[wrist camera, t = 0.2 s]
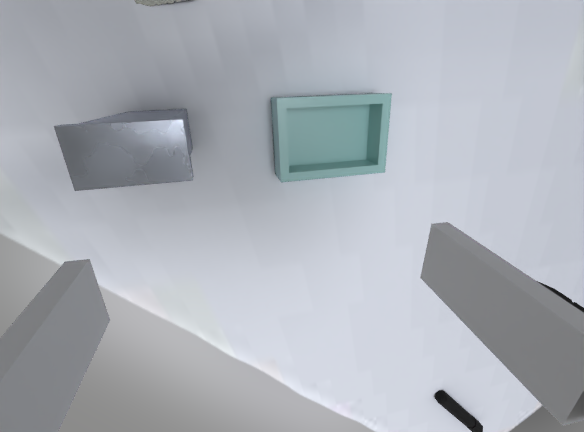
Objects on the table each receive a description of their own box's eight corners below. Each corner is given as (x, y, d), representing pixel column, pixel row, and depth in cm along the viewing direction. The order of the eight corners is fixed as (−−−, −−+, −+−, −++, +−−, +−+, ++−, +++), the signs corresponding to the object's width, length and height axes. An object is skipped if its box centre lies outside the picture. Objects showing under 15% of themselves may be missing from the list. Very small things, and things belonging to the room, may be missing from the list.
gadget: (438, 404, 62) (477, 437, 71) (448, 397, 62) (486, 430, 70) (430, 393, 64) (469, 426, 73) (440, 386, 64) (478, 420, 73)
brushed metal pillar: (117, 112, 32) (54, 126, 20) (195, 108, 34) (182, 119, 21) (127, 153, 34) (74, 190, 22) (201, 148, 36) (192, 180, 23)
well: (270, 97, 35) (276, 98, 32) (375, 93, 38) (391, 93, 34) (275, 173, 39) (281, 182, 35) (370, 165, 41) (384, 172, 38)
